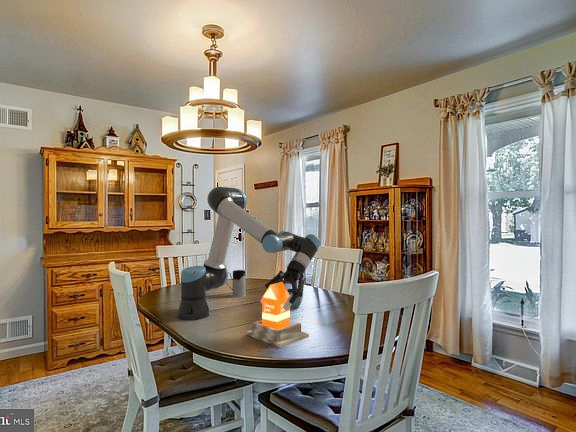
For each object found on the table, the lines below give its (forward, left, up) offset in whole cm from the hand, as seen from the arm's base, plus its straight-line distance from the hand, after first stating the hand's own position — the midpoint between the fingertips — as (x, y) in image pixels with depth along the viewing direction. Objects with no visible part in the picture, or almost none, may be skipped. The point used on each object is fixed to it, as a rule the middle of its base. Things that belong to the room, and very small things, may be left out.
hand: (272, 306), depth 140 cm
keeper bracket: (0, +2, -12) cm, 13 cm away
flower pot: (-25, +38, -13) cm, 47 cm away
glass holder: (-70, +33, -13) cm, 79 cm away
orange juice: (-1, +2, -11) cm, 12 cm away
